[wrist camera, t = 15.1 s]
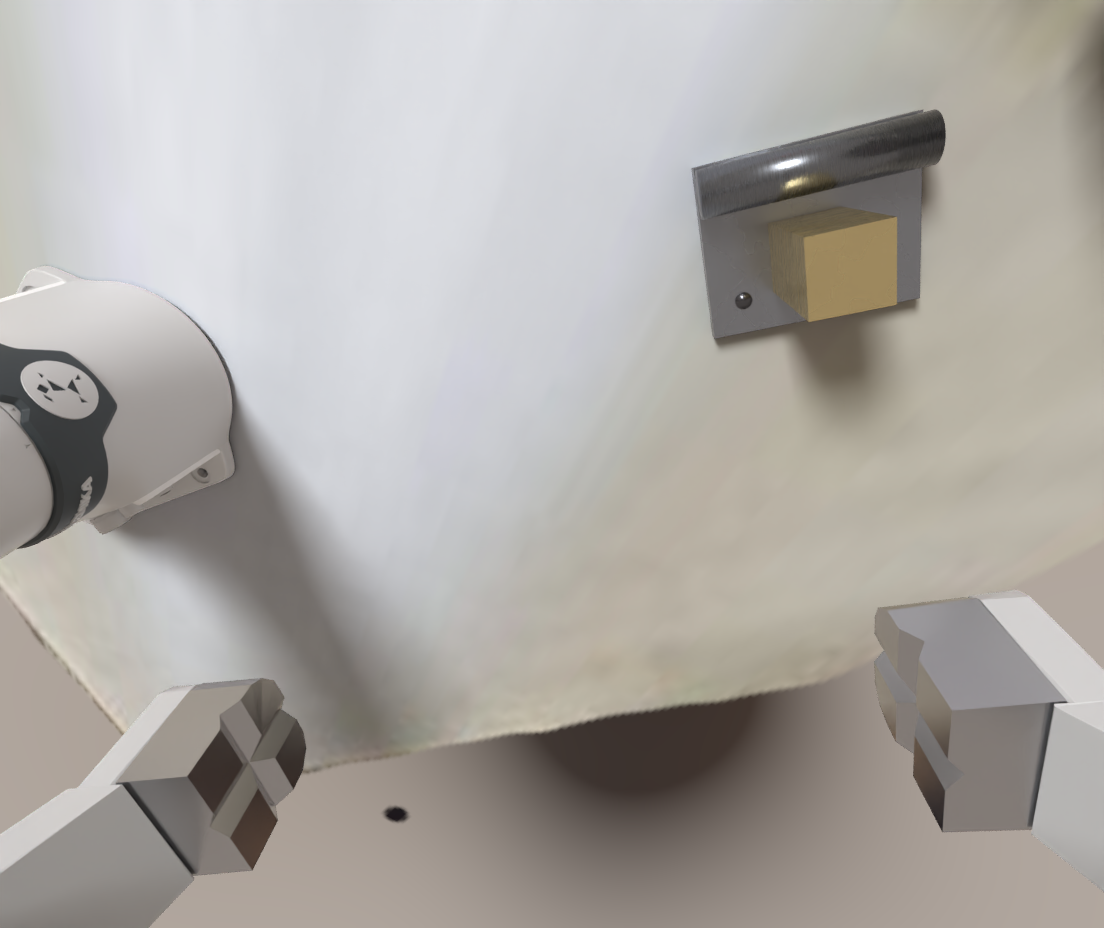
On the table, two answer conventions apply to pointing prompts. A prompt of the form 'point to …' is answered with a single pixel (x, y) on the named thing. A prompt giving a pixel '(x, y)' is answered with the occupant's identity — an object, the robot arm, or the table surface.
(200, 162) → the table surface
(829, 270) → the tan wooden block
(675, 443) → the table surface
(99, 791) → the robot arm
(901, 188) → the fixed leaf
